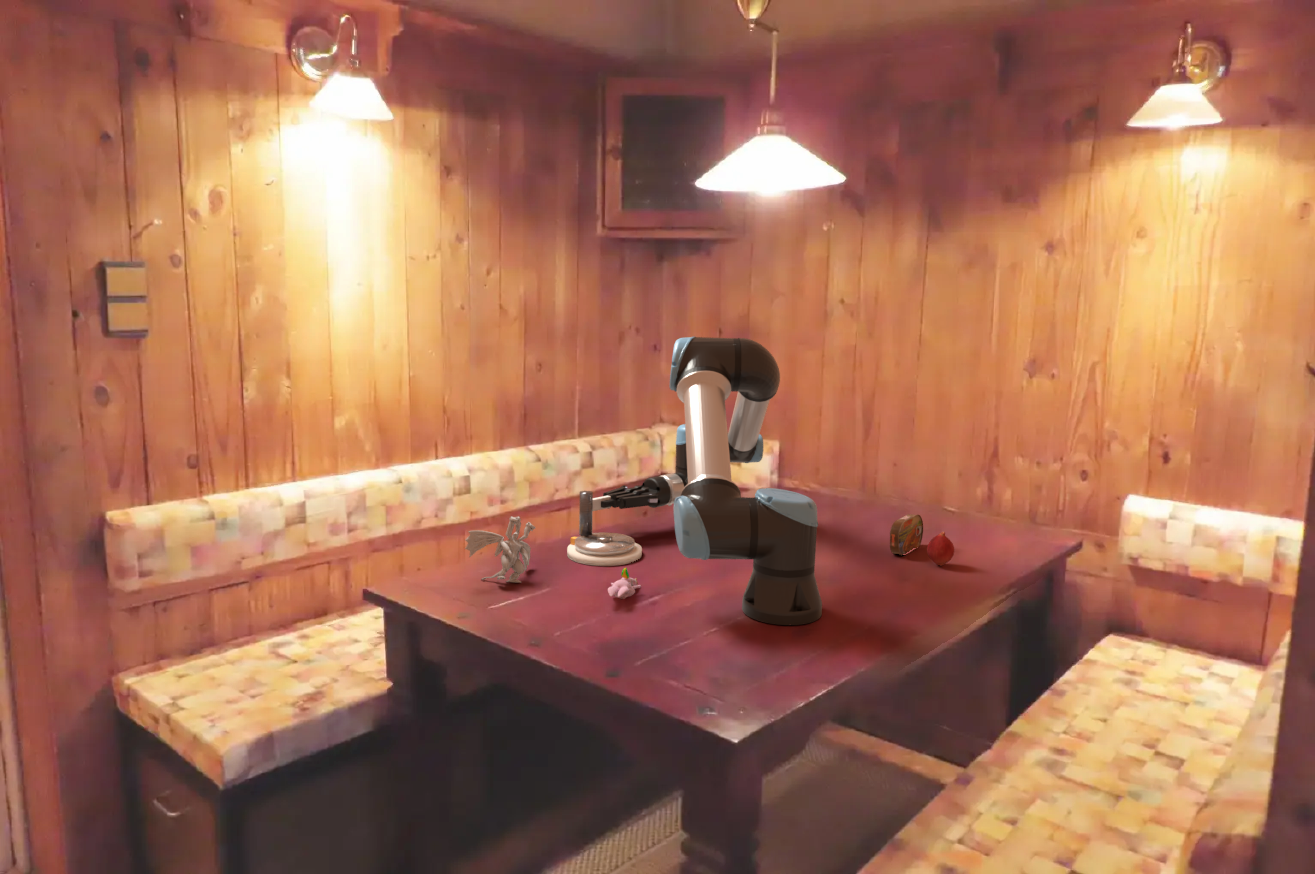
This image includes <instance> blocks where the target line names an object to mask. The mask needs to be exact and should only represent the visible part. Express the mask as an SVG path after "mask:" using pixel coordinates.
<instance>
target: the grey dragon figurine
mask: <svg viewBox="0 0 1315 874" xmlns="http://www.w3.org/2000/svg"><path fill="white" fill-rule="evenodd" d="M508 519H509V522H508V526H507V529H506V531H505V536H506V537H507V539H508V540H505V537H504V536H503V535H501V534H498V533H496V532H492V531H486V530H469V531H467V532H468V534H469V535H468V536H467V538H465V542H466V543H467V545H466V546H465V548H464V550H467V551H469V557H468V558H471V557H472V556H473V555H475V554H476V553H477V552H478V551H480V550H482V549H483V548H485V547H486V546H488V545H492V544H496V543H497V546H496V549H495V552H494V557H498V555H500V554H501V555H500V559H501V560H500V561H501V566H502V567H501V570H500V571H497V572H496V573H495V574H494V575H491V576H485V577H482V578H481V579H480V580H481V581H482V580H487V579H494V578H497V581H499V580H505V579H506V578H507V577H506V573H508V571H509V570H510V569H512V570H513V573H511V574H510V575H509V577H508V580H506V581H505V582H506V583H513V584H518V583H521V584H522V580H519V578H520V575H521V574H524V572H526V571H527V568H528V566H529V565H530V559H531V549H532V548H531V546H530V545H529V543H527V542H525V541H523V540H526V539H527V538H528V537H529V534H530V533H531V532H533V531H534V530H535V529H536V526H535V525H533V523H531V522H530V521H527V523H525V527H524V529H523V535H522V536H520V537H519V535H520V530H521V527H522V526H521V525H522V523H521V521H522V519H521V516H512V515H511V516H509V518H508ZM514 528H515V532H514V533H513V531H514ZM530 531H531V532H530ZM512 533H513V534H512ZM501 552H502V553H501ZM520 555H521V558H522V561H523V562H522V561H521V559H520Z"/></svg>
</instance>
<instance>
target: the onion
mask: <svg viewBox="0 0 1315 874" xmlns="http://www.w3.org/2000/svg"><path fill="white" fill-rule="evenodd" d="M926 553H927V556H928V557H929V558H930V560H931V561H932V562H934V563H935V564H936V565H937V564H938V565H942V566H944V565H945V564H947V563H948V562H949V561H950V560H952V559H953V557H954V556H955V546H954V543H953V542H952V541H951V539H950V538H949V537H948V536H947V535H946V532H945V531H941V532H940V533H938V534H937V535H936V536H934V537H932V539H931V540H930V541H929V542H928V544H927V548H926ZM938 565H937V566H938Z"/></svg>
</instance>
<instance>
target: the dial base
mask: <svg viewBox="0 0 1315 874" xmlns="http://www.w3.org/2000/svg"><path fill="white" fill-rule="evenodd" d="M577 537H578V536H572V537H570V540H569V541H570V542H569V544H568V546H567V547H566V551H567V552H566V553H567V554H566V555H567V558H568V559H569V560H571V561H572V562H575V563H578V564H581V565H587V566H592V567H593V566H595V567H596V566H597V567H598V566H599V567H613V566H615V567H616V566H622V565H627V564H632V563H635V562H636V560H637V561H638V559H639V560H640V559H641V558H642V555H643V554H642V552H643V548H642V545H640V544H639V543H636V542H635V544H634V549H633V550H632V551H631V552H628V553H625V554H621V555H614V556H597V555H589V554H584V553H581V552H579V551H577V550H576V549H575V539H576V538H577ZM634 561H635V562H634ZM631 562H632V563H631Z"/></svg>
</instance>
